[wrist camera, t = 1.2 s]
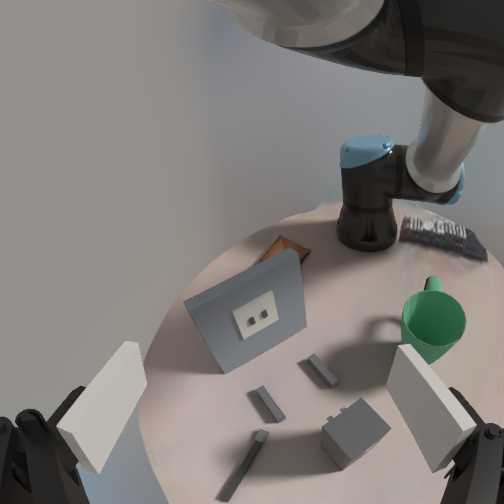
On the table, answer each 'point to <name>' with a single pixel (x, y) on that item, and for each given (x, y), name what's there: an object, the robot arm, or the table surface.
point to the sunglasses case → (282, 245)
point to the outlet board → (255, 316)
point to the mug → (432, 321)
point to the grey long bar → (245, 465)
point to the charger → (352, 433)
